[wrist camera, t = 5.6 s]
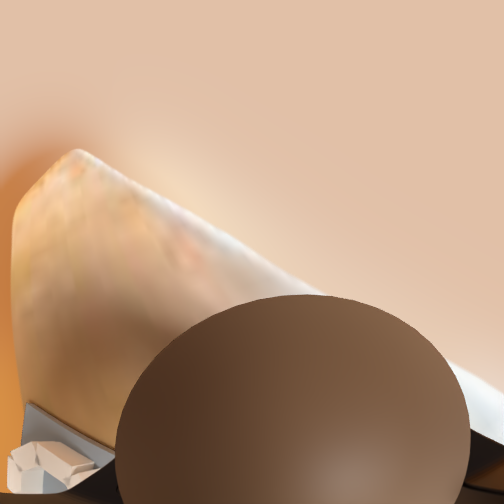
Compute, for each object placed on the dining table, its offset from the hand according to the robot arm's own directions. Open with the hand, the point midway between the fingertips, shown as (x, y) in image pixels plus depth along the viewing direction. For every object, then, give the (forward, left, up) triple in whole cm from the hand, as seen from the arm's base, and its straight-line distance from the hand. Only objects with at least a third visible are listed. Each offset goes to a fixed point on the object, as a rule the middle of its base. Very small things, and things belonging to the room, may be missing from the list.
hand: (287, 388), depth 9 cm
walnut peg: (-1, 0, -7) cm, 7 cm away
